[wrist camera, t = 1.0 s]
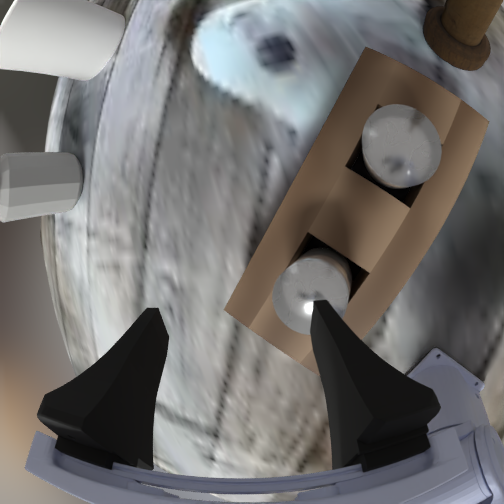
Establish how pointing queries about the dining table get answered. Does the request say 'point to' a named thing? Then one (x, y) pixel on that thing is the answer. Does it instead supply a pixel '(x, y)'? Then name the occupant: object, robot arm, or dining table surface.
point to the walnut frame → (360, 204)
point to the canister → (59, 37)
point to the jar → (38, 184)
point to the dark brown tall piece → (461, 31)
